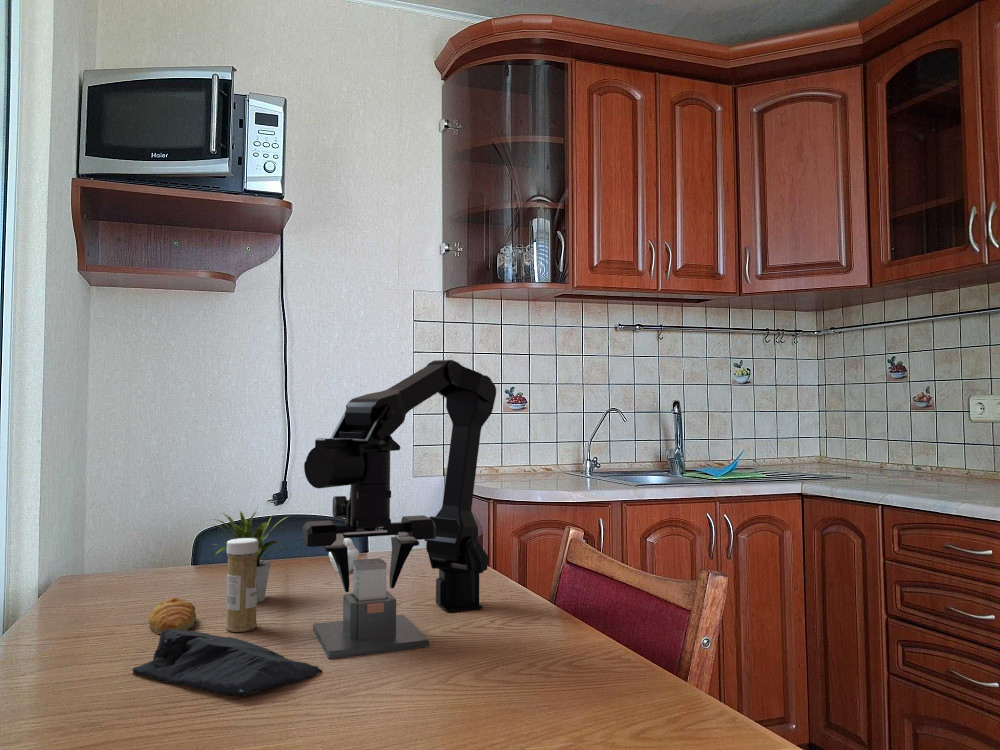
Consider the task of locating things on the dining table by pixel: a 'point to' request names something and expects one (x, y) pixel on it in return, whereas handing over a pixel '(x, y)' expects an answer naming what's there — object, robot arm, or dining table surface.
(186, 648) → the dark slate chunk
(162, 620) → the pastry
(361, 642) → the stand
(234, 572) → the sprinkles bottle
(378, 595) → the column
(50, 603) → the dining table surface
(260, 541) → the house plant
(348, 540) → the muffin
